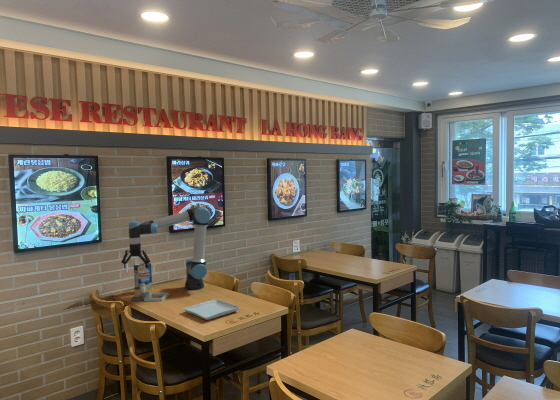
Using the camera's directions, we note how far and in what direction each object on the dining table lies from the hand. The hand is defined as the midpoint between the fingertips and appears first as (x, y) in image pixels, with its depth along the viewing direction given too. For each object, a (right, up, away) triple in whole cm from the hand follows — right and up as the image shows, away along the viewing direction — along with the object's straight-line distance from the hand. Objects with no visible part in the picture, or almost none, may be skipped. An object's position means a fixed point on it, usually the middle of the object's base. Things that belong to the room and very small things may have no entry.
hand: (136, 272), depth 291 cm
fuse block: (+1, -20, +6) cm, 21 cm away
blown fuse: (+1, -20, +1) cm, 20 cm away
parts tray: (+13, -20, +4) cm, 24 cm away
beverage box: (-2, -19, +22) cm, 29 cm away
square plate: (+59, -21, -28) cm, 69 cm away
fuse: (+1, -19, +10) cm, 21 cm away
